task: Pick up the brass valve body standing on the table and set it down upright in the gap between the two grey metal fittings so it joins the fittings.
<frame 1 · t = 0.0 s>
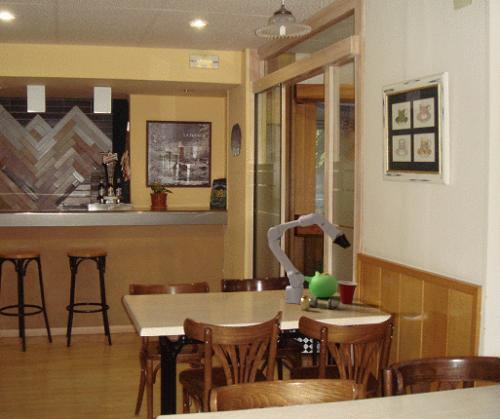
hand: (348, 247, 387), 32 cm above the table, tool tilted 50°, fingers open, 7 cm apart
plastic cup: (346, 303, 399), on the table
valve: (304, 310, 377), on the table
grey metal fittings: (322, 308, 384), on the table
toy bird: (322, 297, 416), on the table
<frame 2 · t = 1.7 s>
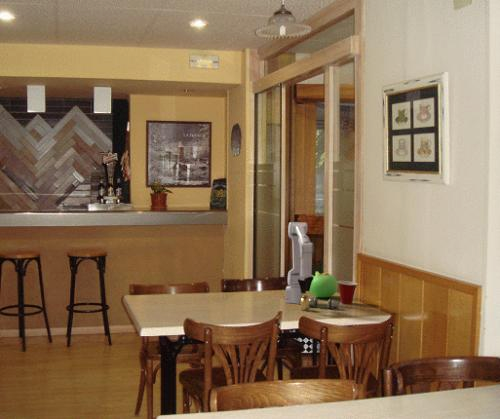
hand: (305, 292, 376), 9 cm above the table, tool pointing down, fingers open, 7 cm apart
nothing on the table moved.
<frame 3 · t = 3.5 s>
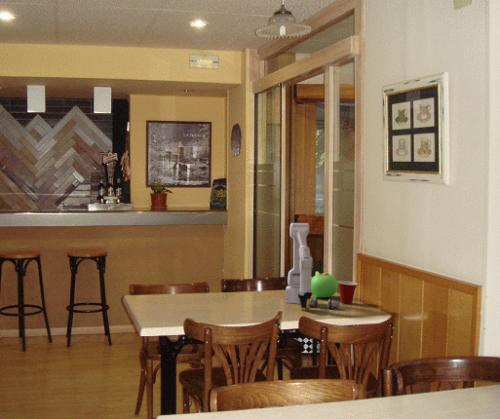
hand: (304, 307, 377), 2 cm above the table, tool pointing down, fingers closed on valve, 4 cm apart
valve: (304, 310, 377), on the table, touching gripper
everything else where it was.
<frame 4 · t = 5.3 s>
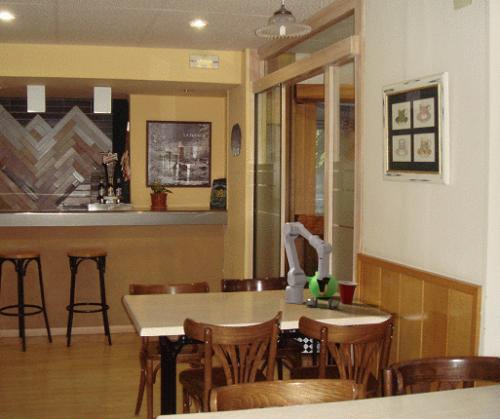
hand: (323, 291, 384), 9 cm above the table, tool pointing down, fingers closed on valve, 4 cm apart
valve: (322, 295, 384), point 7 cm above the table, touching gripper
everything else where it was.
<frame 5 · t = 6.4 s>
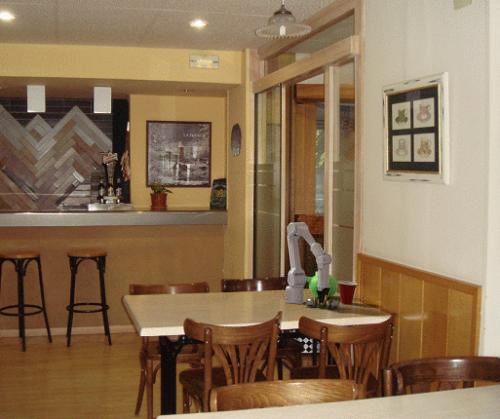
hand: (322, 302, 384), 3 cm above the table, tool pointing down, fingers closed on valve, 4 cm apart
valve: (322, 306, 384), point 1 cm above the table, touching gripper
everything else where it was.
when the fingers open (3 cm above the table, at t = 7.1 s): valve stays where it is, resting on grey metal fittings.
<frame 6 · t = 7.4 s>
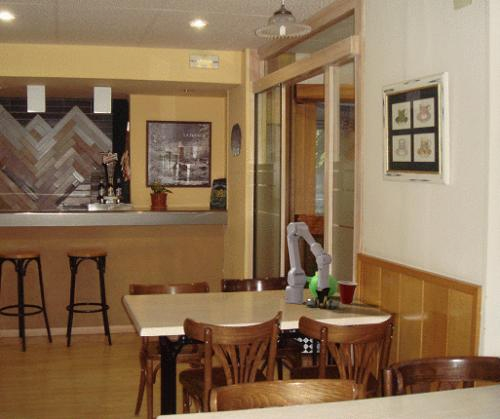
hand: (322, 302, 384), 3 cm above the table, tool pointing down, fingers open, 7 cm apart
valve: (322, 307, 384), resting on grey metal fittings
everything else where it was.
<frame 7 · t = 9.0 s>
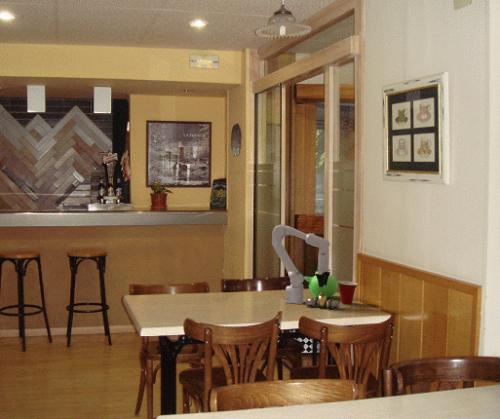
hand: (322, 286, 395), 10 cm above the table, tool pointing down, fingers open, 7 cm apart
nothing on the table moved.
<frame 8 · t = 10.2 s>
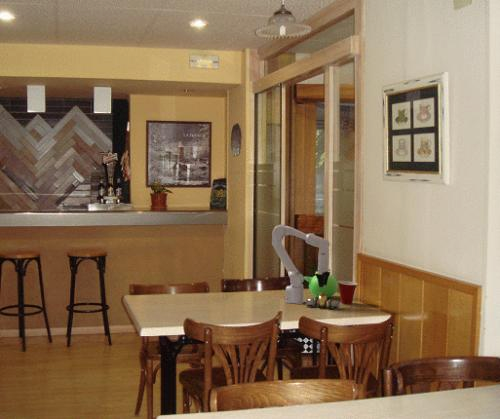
hand: (322, 286, 395), 10 cm above the table, tool pointing down, fingers open, 7 cm apart
nothing on the table moved.
at the end: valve 0.1 cm off-centre on the grey metal fittings, point 0.3 cm above the grey metal fittings's base; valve tilted 1°; the gripper is holding nothing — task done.
